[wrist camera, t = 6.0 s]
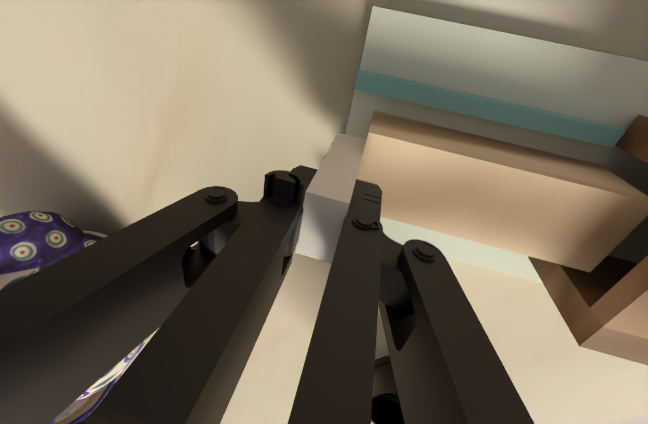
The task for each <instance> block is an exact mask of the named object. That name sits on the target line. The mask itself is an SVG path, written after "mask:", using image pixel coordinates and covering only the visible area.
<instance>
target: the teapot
mask: <svg viewBox="0 0 648 424" xmlns="http://www.w3.org/2000/svg"><path fill="white" fill-rule="evenodd" d="M107 236H108V235H105V234H102V233H99V232H94V231H82V230H81V229H79V228H78V227H77V226H76V225H75V224H74V223H73V222H72V221H70V220H69V219H67V218H65V217H63V216H61V215H58V214H56V213H54V212H33V211H28V212H22V213H17V214H12V215H8V216H4V217H1V218H0V290H2V289H4V288H6V287H8V286H10V285H12V284H14V283H16V282H18V281H20V280H22V279H24V278H26V277H28V276H30V275H32V274H34V273H36V272H38V271H40V270H42V269H44V268H46V267H47V266H49V265H51V264H53V263H55V262H57V261H59V260H61V259H63V258H65V257H67V256H69V255H71V254H73V253H75V252H77V251H79V250H81V249H83V248H85V247H87V246H89V245H91V244H93V243H95V242H97V241H99V240H101V239H103V238H105V237H107ZM147 339H148V338H146V339H145V340H144V341H143V342H142V343H141V344H140V345H138V346H137V347H136V348H135V349H134V350H133V351H132V352H130V353H129V354H128V355H127V356H126V357H125V358H123V359H122V360H121V361H120V362H119V363H118V364H117V365H115V366H114V367H113V368H112V369H111V370H110V371H108V372H107V373H106V374H105V375H104V376H103V377H102V378H100V379H99V380H98V381H97V382H96V383H95V384H94V385H92V386H91V387H90V388H89V389H88V390H87V391H85V392H84V393H83V394H82V395H81V396H80V397H79V398H77V399H76V400H75V401H77V400H80V399H83V398H84V399H83V400H82V401H81V402H80V403H79V404H78V405H77V406H76V407H75V408H74V409H73V410H72V411H71V412H70V413H68V414H66V415H65V416H63V417H61V418H59V419H58V420H56V421H55V418H54V419H53V420H52V421H51V422H50V423H49V424H76V423H78V422H81V421H82V420H84V419H85V418H86V417H87V416H88V415H89V414H90V413H91V412H92V411H93V410H94V409H95V408H96V407H97V406H98V404H99V403H100V402H101V401H102V400H103V398H104V397H105V395H106V394H107V393H108V391H109V390H110V388H111V387H112V385H113V383H114V381H115V379H116V377H117V376H118V375H119V374H120V373H121V372H122V371H123V370H124V369H125V368H126V367H127V366H128V364H129V363H130V362H131V361H132V360H133V358H134V357H135V356H136V355H137V353H138V352H139V351H140V349H141V348H142V346H143V345H144V344H145V342H146V340H147Z"/></svg>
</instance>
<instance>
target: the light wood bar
mask: <svg viewBox="0 0 648 424" xmlns="http://www.w3.org/2000/svg"><path fill="white" fill-rule="evenodd" d="M356 179H358V180H362V181H366V182H369V183H373V184H377V185H379V187H380V189H381V190H382V202H381V215H380V217H384V218H387V219H391V220H395V221H399V222H402V223H406V224H410V225H414V226H417V227H421V228H425V229H429V230H432V231H436V232H440V233H444V234H447V235H451V236H455V237H459V238H462V239H466V240H470V241H474V242H477V243H481V244H485V245H489V246H492V247H496V248H500V249H504V250H507V251H511V252H515V253H519V254H522V255H526V256H530V257H534V258H537V259H541V260H545V261H549V262H552V263H556V264H560V265H564V266H567V267H571V268H575V269H579V270H582V271H586V272H591V271H592V270H593V269H594V268H595V267H596V266H597V265H598V264H599V263H600V262H601V261H602V260H603V259H604V258H605V257H606V256H607V255H608V254H609V253H610V252H611V251H612V250H613V249H614V248H615V247H616V246H617V245H618V244H619V243H620V242H621V241H622V240H623V239H624V238H625V237H626V236H627V235H628V234H629V233H630V232H631V231H632V230H633V229H634V228H636V227H637V226H638V225H639V224H640V223H641V222H642V221H643V220H644V219H645V218H646V217H647V216H648V196H647V195H645V194H644V193H642V192H641V191H639V190H638V189H636V188H635V187H633V186H632V185H630V184H629V183H627V182H626V181H624V180H623V179H621V178H620V177H618V176H617V175H615V174H614V173H612V172H611V171H609V170H608V169H606V168H605V167H603V166H602V165H599V164H595V163H591V162H587V161H582V160H578V159H574V158H570V157H566V156H562V155H558V154H553V153H549V152H545V151H541V150H537V149H533V148H529V147H524V146H520V145H516V144H512V143H508V142H504V141H499V140H495V139H491V138H487V137H483V136H479V135H475V134H470V133H466V132H462V131H458V130H454V129H450V128H446V127H441V126H437V125H433V124H429V123H425V122H421V121H416V120H412V119H408V118H404V117H400V116H396V115H392V114H387V113H383V112H379V111H375V110H374V112H373V116H372V120H371V123H370V127H369V131H368V134H367V138H366V143H365V147H364V151H363V155H362V159H361V162H360V166H359V170H358V174H357V178H356Z"/></svg>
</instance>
